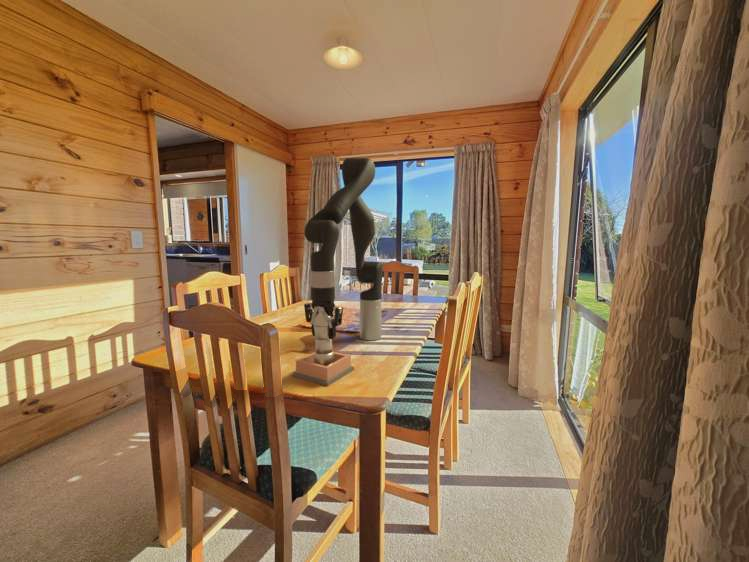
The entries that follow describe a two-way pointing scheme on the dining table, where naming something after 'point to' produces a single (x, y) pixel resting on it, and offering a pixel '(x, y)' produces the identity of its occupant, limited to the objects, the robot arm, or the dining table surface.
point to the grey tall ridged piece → (322, 340)
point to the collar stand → (323, 369)
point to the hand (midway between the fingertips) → (323, 336)
